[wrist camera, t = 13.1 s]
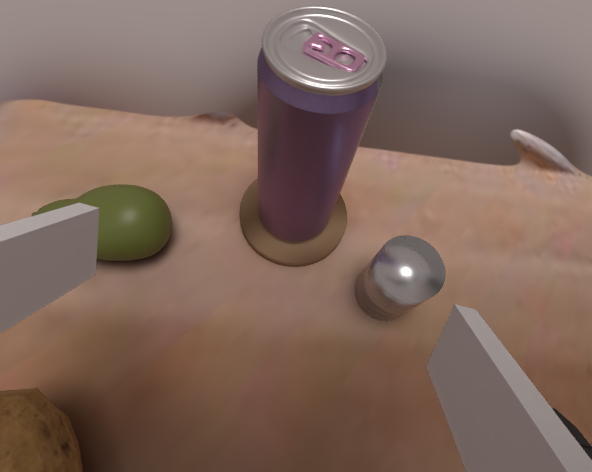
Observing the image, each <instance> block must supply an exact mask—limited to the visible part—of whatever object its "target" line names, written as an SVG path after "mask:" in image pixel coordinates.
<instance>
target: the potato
mask: <svg viewBox="0 0 592 472" xmlns="http://www.w3.org/2000/svg"><path fill="white" fill-rule="evenodd" d="M0 472H83V468H82V462H81V456H80V449H79V443H78V440H77V438H76V435H75V433H74V430H73V428H72V425H71V423H70V420H69V417H68V416H67V415H66V414H65V413H63V412H62V411H61V410H60V409H58V408H57V407H56V406H55V405H54V404H53V403H52V402H51V401H50V400H49V399H48V398H47V397H46V396H45V395H44V394H43V393H41V392H40V391H39V390H38V389H37V388H36V389H21V390H7V391H0Z"/></svg>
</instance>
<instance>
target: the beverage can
mask: <svg viewBox="0 0 592 472" xmlns="http://www.w3.org/2000/svg"><path fill="white" fill-rule="evenodd" d="M386 57H387V54H386V48H385V45H384V42H383V40H382V38H381V37H380V35H379V34H378V33H377V32H376V31H375V29H373V28H372V26H370V25H369V24H367V23H366V22H365V21H364V20H362V19H360V18H359V17H357V16H355V15H353V14H350V13H348V12H345V11H342V10H339V9H335V8H330V7H323V6H305V7H298V8H294V9H291V10H287V11H285V12H283V13H281V14H279V15H277V16H276V17H275V18H273V19H272V20H271V21H270V22H269V23H268V25H267V27H266V28H265V30H264V32H263V37H262V48H261V50H260V53H259V56H258V63H257V67H258V69H257V71H258V213H259V217H260V219H261V221H262V223H263V225H264V226H265V227H266V228H267V230H269V231H270V232H271V233H272V234H274V235H275V236H277V237H279V238H281V239H284V240H288V241H304V240H308V239H311V238H313V237H315V236H317V235H318V234H320V233H321V232H322V231H323V230H324V229H325V227H326V226H327V224H328V222H329V220H330V217H331V215H332V212H333V209H334V207H335V204H336V202H337V199H338V197H339V194H340V192H341V189H342V186H343V184H344V181H345V179H346V176H347V174H348V171H349V168H350V166H351V163H352V161H353V158H354V156H355V153H356V150H357V148H358V145H359V143H360V140H361V138H362V135H363V133H364V130H365V127H366V125H367V122H368V119H369V117H370V115H371V112H372V109H373V107H374V104H375V102H376V99H377V96H378V94H379V92H380V89H381V86H382V83H383V70H384V67H385V64H386Z"/></svg>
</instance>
